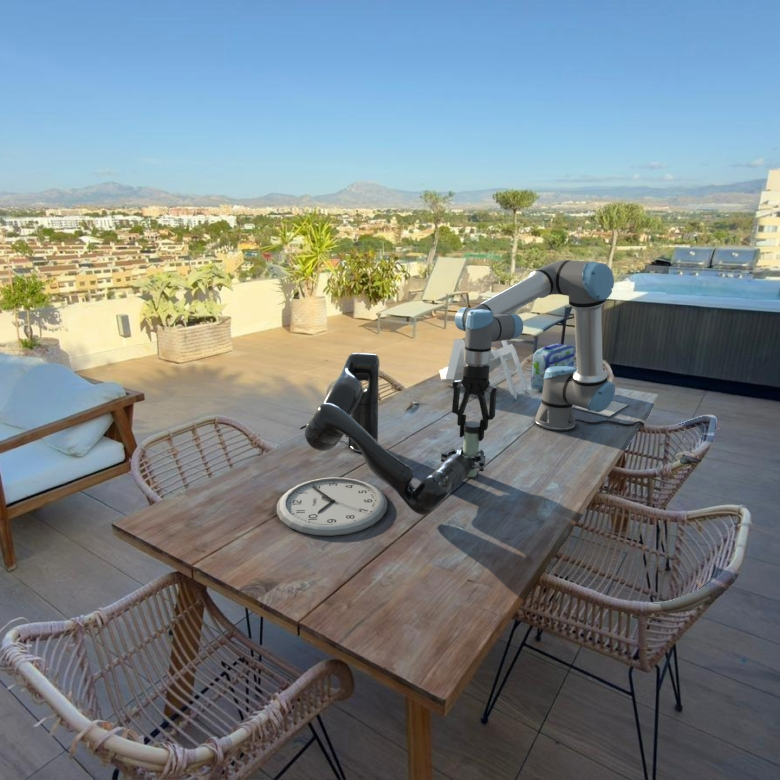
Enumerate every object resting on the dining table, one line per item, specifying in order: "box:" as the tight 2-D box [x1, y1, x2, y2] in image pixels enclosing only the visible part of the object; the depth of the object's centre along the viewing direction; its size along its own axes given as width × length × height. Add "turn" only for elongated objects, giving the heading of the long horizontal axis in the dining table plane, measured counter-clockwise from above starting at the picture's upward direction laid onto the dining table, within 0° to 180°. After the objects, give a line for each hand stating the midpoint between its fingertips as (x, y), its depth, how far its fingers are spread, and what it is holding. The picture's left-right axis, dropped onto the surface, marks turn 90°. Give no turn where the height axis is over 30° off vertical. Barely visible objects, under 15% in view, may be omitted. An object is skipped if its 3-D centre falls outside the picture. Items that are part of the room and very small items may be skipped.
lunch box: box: [530, 343, 576, 391], centre depth 249 cm, size 26×11×21 cm, turn 134°
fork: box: [405, 396, 421, 411], centre depth 222 cm, size 3×16×2 cm, turn 160°
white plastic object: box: [438, 338, 531, 400], centre depth 245 cm, size 37×45×31 cm
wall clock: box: [276, 476, 388, 537], centre depth 142 cm, size 30×2×30 cm
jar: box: [462, 431, 480, 478], centre depth 160 cm, size 5×5×16 cm
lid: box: [463, 420, 480, 433], centre depth 158 cm, size 5×5×2 cm
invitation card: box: [573, 400, 629, 418], centre depth 226 cm, size 21×1×15 cm
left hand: (473, 450), depth 163 cm, fingers closed on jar, 4 cm apart
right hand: (471, 437), depth 159 cm, fingers closed on lid, 5 cm apart
